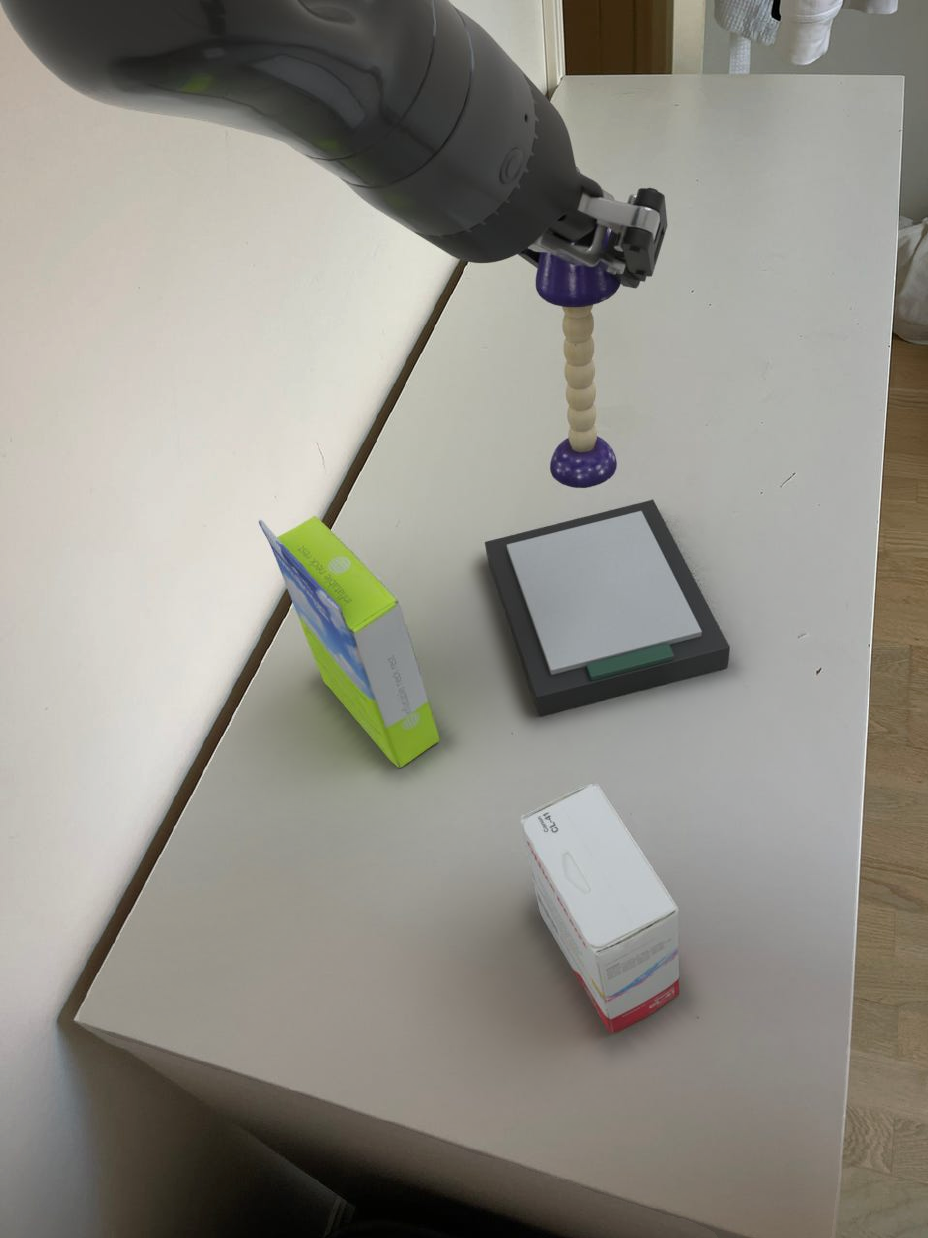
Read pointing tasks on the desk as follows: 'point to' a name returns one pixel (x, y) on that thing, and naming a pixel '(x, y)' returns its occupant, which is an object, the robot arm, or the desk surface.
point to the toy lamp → (578, 367)
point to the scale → (603, 608)
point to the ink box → (604, 905)
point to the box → (356, 638)
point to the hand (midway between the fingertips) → (593, 260)
